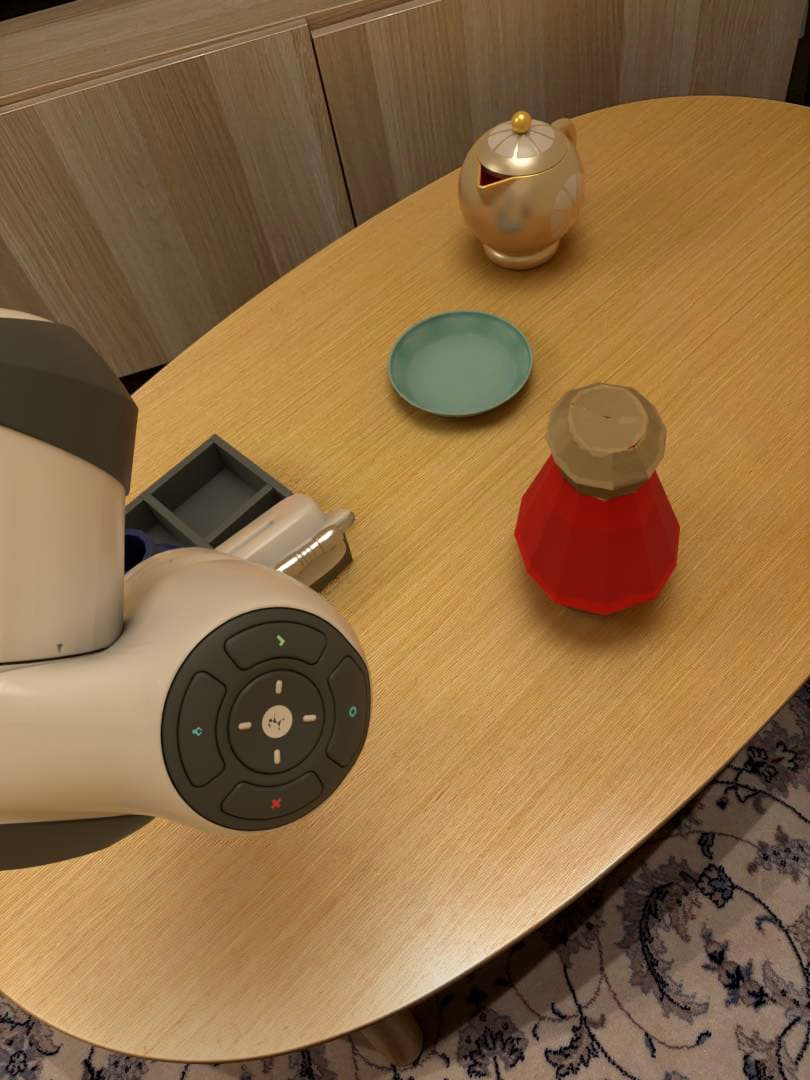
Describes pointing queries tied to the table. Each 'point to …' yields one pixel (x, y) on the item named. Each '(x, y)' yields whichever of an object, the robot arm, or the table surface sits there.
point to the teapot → (522, 189)
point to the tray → (211, 501)
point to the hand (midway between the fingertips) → (161, 607)
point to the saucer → (460, 363)
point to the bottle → (600, 504)
